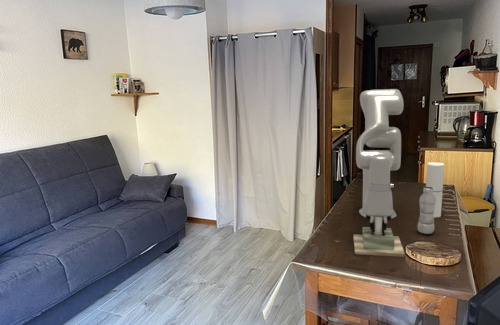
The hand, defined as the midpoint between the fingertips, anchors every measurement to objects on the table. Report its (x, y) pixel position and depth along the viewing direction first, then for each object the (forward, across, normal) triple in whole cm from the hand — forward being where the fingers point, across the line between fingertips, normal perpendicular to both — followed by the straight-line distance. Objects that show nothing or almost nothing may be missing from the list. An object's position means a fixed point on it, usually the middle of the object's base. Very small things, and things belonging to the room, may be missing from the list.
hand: (377, 230), depth 150 cm
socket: (+7, 0, 0) cm, 7 cm away
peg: (+4, 0, 0) cm, 4 cm away
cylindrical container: (+7, -28, -38) cm, 48 cm away
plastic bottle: (+7, -21, -16) cm, 27 cm away
